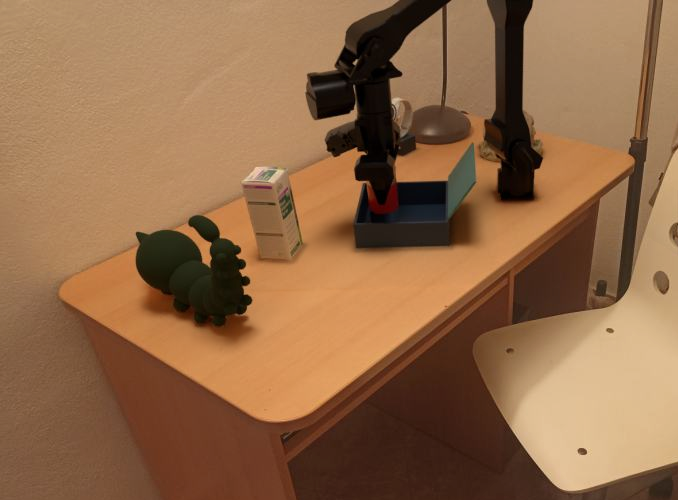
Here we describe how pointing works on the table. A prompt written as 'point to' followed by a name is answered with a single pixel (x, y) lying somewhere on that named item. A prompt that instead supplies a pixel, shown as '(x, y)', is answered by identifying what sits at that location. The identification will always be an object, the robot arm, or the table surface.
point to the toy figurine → (195, 271)
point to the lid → (461, 180)
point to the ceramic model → (536, 144)
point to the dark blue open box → (407, 218)
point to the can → (386, 211)
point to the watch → (404, 126)
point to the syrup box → (272, 212)
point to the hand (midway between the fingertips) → (383, 196)
